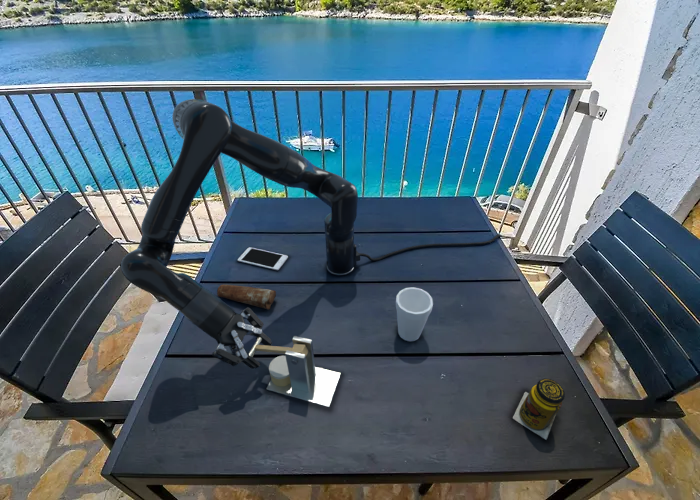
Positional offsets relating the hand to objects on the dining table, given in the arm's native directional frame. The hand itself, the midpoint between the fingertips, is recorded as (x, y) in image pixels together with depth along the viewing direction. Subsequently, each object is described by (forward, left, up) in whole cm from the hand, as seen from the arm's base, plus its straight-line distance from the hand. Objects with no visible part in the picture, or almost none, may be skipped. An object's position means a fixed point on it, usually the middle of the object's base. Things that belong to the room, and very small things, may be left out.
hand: (264, 355), depth 83 cm
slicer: (-7, +7, -8) cm, 12 cm away
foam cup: (-39, +7, -8) cm, 40 cm away
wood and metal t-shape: (-3, +3, +3) cm, 5 cm away
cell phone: (-13, -44, -8) cm, 47 cm away
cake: (-3, +3, -7) cm, 8 cm away
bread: (-2, -27, -8) cm, 28 cm away
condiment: (-50, +40, -8) cm, 64 cm away
